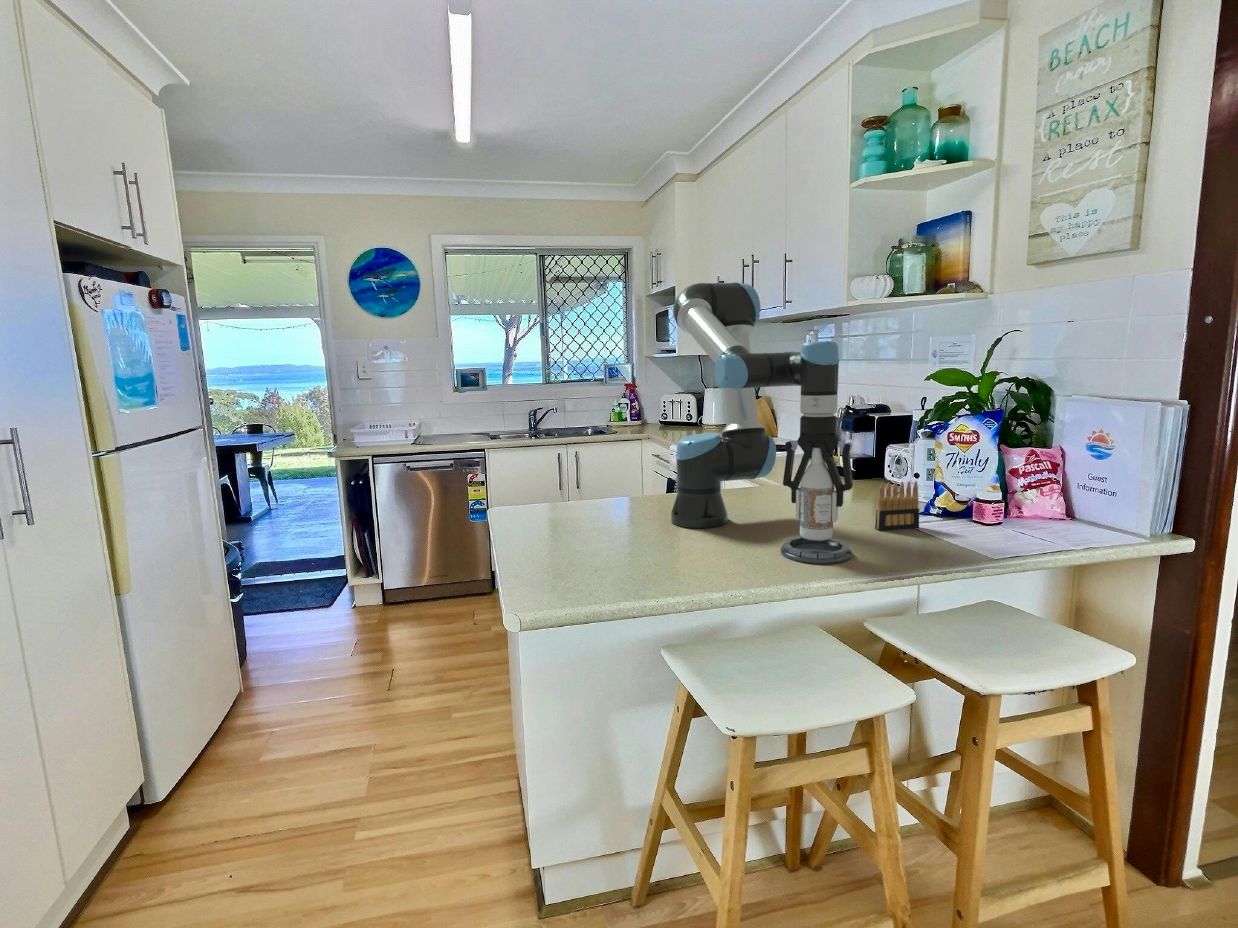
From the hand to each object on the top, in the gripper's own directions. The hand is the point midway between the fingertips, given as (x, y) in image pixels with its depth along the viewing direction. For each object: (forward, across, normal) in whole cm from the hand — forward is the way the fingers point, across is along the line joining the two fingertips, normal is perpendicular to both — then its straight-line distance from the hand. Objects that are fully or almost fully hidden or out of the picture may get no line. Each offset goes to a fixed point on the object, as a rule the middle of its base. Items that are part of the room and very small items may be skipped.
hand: (816, 519), depth 136 cm
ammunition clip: (+8, +14, +28) cm, 32 cm away
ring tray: (+8, 0, 0) cm, 8 cm away
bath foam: (+4, 0, 0) cm, 4 cm away
